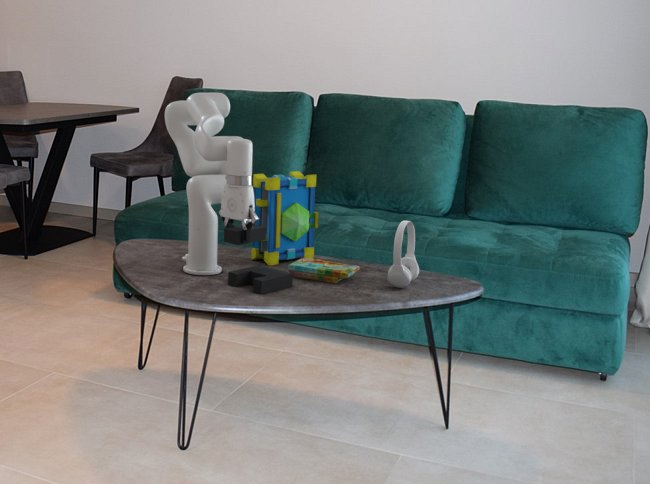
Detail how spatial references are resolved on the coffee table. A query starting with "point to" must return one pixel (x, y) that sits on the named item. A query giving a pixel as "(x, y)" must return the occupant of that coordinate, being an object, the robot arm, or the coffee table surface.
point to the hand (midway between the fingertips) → (237, 240)
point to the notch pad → (261, 278)
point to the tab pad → (235, 234)
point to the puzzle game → (321, 270)
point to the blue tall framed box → (285, 216)
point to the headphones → (407, 265)
